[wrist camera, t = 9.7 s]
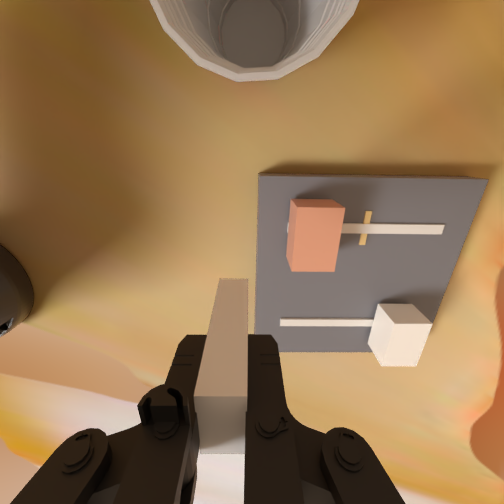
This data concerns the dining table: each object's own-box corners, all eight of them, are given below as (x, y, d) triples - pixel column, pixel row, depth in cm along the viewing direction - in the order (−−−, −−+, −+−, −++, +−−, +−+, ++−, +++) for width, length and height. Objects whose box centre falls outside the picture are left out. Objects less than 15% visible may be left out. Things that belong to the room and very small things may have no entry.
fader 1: (286, 255, 26) (291, 271, 23) (290, 198, 23) (297, 207, 20) (323, 256, 26) (334, 271, 23) (332, 199, 24) (345, 207, 20)
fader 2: (367, 343, 31) (381, 366, 28) (378, 303, 29) (394, 323, 25) (398, 343, 31) (416, 366, 28) (412, 303, 29) (432, 323, 25)
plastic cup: (167, -27, 19) (60, -254, 8) (303, -72, 18) (385, -392, 7) (209, 124, 24) (175, 106, 13) (321, 93, 23) (390, 45, 12)
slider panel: (254, 338, 34) (254, 353, 32) (258, 173, 25) (259, 176, 23) (410, 338, 35) (423, 353, 32) (467, 176, 26) (491, 180, 23)
